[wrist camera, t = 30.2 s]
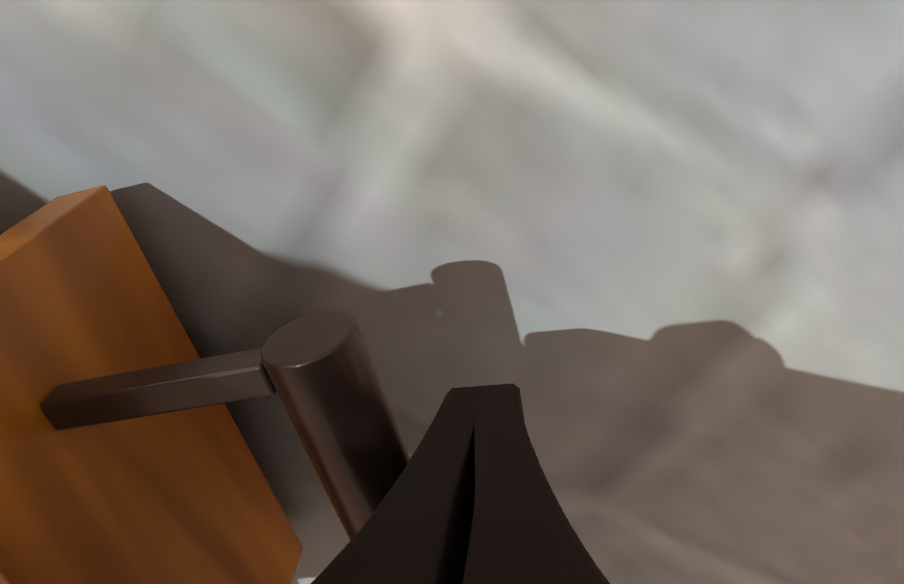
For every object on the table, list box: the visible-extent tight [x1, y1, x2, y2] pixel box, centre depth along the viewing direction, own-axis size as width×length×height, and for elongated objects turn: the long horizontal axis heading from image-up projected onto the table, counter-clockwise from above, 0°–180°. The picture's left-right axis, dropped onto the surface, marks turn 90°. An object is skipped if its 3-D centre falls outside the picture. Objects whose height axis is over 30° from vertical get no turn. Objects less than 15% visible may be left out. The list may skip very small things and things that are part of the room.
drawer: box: [0, 186, 410, 584], centre depth 14 cm, size 19×11×6 cm, turn 105°
